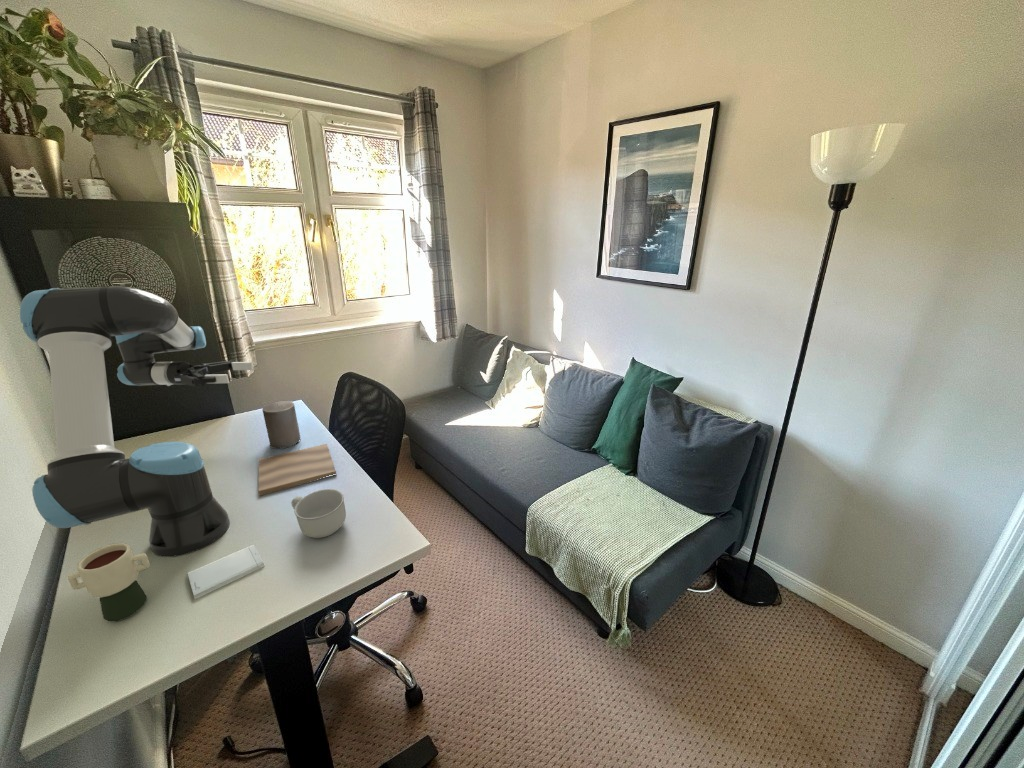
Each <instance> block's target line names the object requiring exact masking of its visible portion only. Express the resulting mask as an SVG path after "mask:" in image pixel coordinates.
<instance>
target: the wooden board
mask: <svg viewBox="0 0 1024 768" xmlns="http://www.w3.org/2000/svg"><path fill="white" fill-rule="evenodd" d="M332 458H333V457H332V456H331V452H330V450H329V446H328V443H325V444H321V445H320V444H319V445H316V446H311V447H306V448H303V449H297V450H294V451H289V452H285V453H281V454H277V455H275V454H274V455H272V456H268V457H267V456H266V457H262V458H259V459H258V495H259V496H263V495H267V494H272V493H275V492H278V491H282V490H286V489H290V488H294V487H298V486H300V484H302V485H304V484H303V483H306V484H308V483H307V482H309V483H311V482H310V481H313V482H315V481H314V480H317V479H320V478H323V477H326V476H329V475H333V474H336V475H337V471H336V467H335V465H334V461H333V459H332ZM317 481H318V480H317ZM297 485H298V486H297Z"/></svg>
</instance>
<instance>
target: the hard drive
mask: <svg viewBox="0 0 1024 768" xmlns="http://www.w3.org/2000/svg"><path fill="white" fill-rule="evenodd" d="M263 567H265V563H264V561H263V559H262V557H261V555H260V553H259V551H258V550H257V547H256V546H255V544H252V545H249V546H247V547H245V548H242V549H240V550H237V551H235V552H232V553H230V554H227V555H225V556H224V557H221V558H219V559H217V560H214V561H212V562H210V563H207V564H205V565H202V566H201V567H198V568H195V569H193V570H192V571H189V572H187V577H188V582H189V585H190V588H191V592H192V595H193V598H194V600H196V599H198V598H200V597H203V596H204V595H207V594H209V593H210V592H213V591H215V590H218V589H219V588H222V587H224V586H226V585H227V584H230V583H231V582H234V581H236V580H238V579H241V578H242V577H245V576H247V575H249V574H250V573H253V572H256V571H257V570H259V569H261V568H263Z"/></svg>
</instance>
